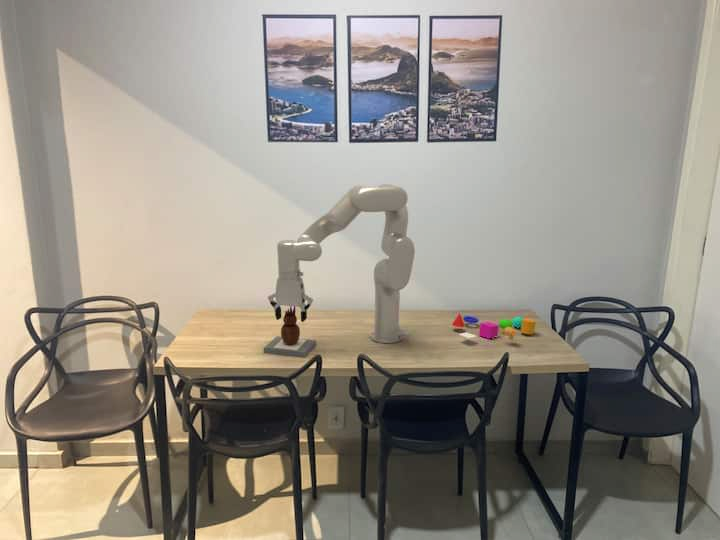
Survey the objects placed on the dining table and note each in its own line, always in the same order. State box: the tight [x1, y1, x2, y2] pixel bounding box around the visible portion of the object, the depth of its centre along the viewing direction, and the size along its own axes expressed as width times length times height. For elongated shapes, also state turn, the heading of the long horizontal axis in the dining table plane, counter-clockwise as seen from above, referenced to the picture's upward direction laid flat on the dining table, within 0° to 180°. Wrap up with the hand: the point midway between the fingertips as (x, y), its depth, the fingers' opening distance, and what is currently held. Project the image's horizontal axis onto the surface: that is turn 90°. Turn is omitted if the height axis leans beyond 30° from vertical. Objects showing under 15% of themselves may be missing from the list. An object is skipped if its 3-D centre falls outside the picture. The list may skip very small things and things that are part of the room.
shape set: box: [451, 313, 536, 340], centre depth 211 cm, size 29×35×7 cm
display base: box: [263, 335, 317, 359], centre depth 194 cm, size 16×12×2 cm
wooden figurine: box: [280, 306, 301, 345], centre depth 192 cm, size 7×6×15 cm
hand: (291, 319), depth 192 cm, fingers open, 9 cm apart
